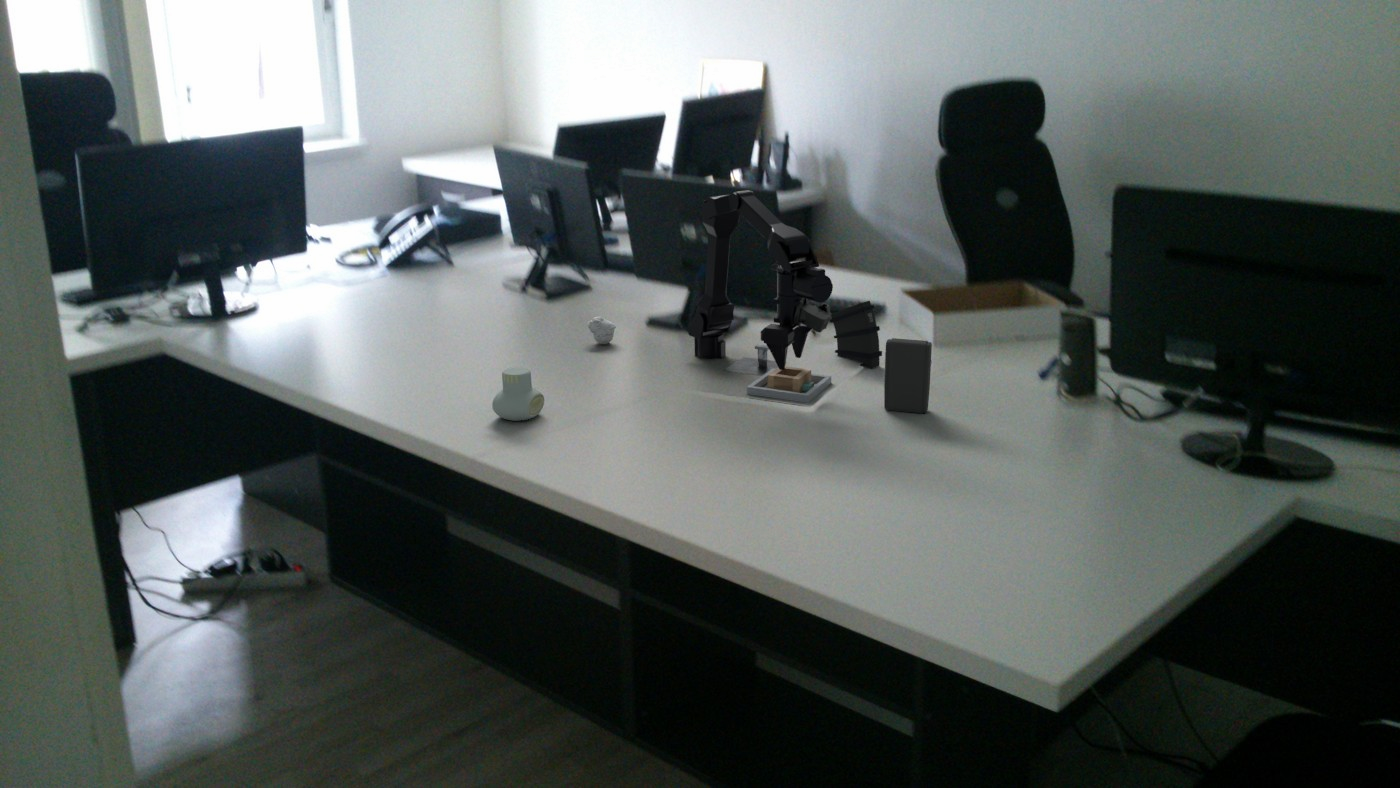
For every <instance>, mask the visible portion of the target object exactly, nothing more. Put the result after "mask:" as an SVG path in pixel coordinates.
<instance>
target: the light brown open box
mask: <svg viewBox="0 0 1400 788" xmlns="http://www.w3.org/2000/svg"><path fill="white" fill-rule="evenodd" d="M811 374H812V369H809V368H804V367H803V368H802V367H796V366H795V367H793V366H788V365H787V366H786V365H785V369H784V370H780V369H779V368H777V369H775V370H774V371H773V372H771V373H770V374H768V382H767V388H770V389H777V390H784V391H791V392H798V393H806V392H808V391H809V390H810V389H811V388H812V387H814V386H815V382H811Z"/></svg>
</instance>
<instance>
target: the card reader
mask: <svg viewBox="0 0 1400 788" xmlns="http://www.w3.org/2000/svg"><path fill="white" fill-rule="evenodd" d="M932 346H933V344H932V342H931V341H928V340H918V339H908V338H907V339H906V338H895V337H894V338H893V337H892V338H888V339H887V340H886V341H885V352H884V353H885V359H884V383H883V385H884V390H883V391H884V392H883V393H884V395H883V397H884V401H883V403H884V407H883V408H884V409H885V410H888V411H892V412H893V411H894V412H904V413H914V414H923V413H924V414H925V413H927V412H928V410H929V398H930V390H931V389H930V388H931V387H930V385H931V369H932V368H931V366H932V363H933V362H932V349H933V347H932Z"/></svg>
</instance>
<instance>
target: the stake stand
mask: <svg viewBox="0 0 1400 788" xmlns="http://www.w3.org/2000/svg"><path fill="white" fill-rule="evenodd" d="M754 349H755V350H757V358H754V357H748V356H747V357H746V356H742V357H741V358H739V360H737V361H736V362H733V363H732V364H731V365H729V366H728V367H726V368H725V369H723V371H724V372H725V371H726V372H730V373H731V372H733V373H740V374H747V375H753V376H754V375H755V376H760V377H761V376H763V375H764V374H765V373H767V372H768V371H770V370H771V369H772V368H773V369H777V368H778V366H777V363H776V361H775V360H768V351H770V350H769V348H768V346H767V345H765V344H756V345H754Z"/></svg>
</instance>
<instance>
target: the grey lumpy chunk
mask: <svg viewBox="0 0 1400 788" xmlns="http://www.w3.org/2000/svg"><path fill="white" fill-rule="evenodd" d="M587 326H588V327H587V328H588V329H589V331H590V332H591V334H592V335H593V339H594V341H595V342H596V343H598V344H599V345H607V344H609V343H610V342H611V341H613V338H614V335H615V334H614V333H615V329H616V328H617V326H616V324H615V323H614V322H612V321H610V320H608V319H605V318H604V317H603V316H594V317H593V318H592V319H591V320H588V322H587Z"/></svg>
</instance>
